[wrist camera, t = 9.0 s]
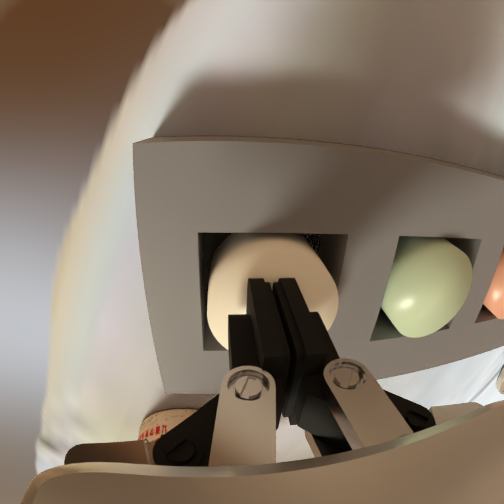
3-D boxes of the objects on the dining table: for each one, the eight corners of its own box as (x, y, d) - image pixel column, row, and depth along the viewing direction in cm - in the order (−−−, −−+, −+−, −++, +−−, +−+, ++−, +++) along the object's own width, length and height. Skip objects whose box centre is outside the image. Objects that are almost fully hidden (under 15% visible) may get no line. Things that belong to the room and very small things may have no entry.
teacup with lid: (143, 391, 18) (121, 550, 8) (266, 415, 20) (291, 558, 10) (131, 457, 23) (120, 559, 12) (220, 473, 25) (227, 571, 14)
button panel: (538, 188, 14) (565, 201, 12) (494, 321, 20) (513, 342, 17) (152, 137, 12) (132, 143, 9) (170, 354, 17) (165, 392, 14)
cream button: (324, 223, 13) (349, 252, 10) (309, 316, 15) (325, 356, 13) (208, 221, 13) (205, 252, 10) (210, 319, 15) (209, 361, 12)
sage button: (450, 226, 14) (483, 248, 12) (427, 302, 16) (452, 331, 14) (378, 222, 14) (410, 248, 11) (358, 308, 16) (380, 343, 13)
